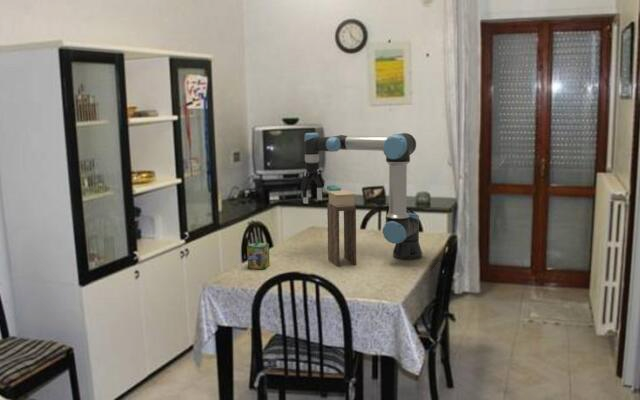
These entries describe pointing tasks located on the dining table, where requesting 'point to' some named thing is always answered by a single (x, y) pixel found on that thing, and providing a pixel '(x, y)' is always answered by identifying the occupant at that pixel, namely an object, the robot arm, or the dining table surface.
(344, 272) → the dining table surface
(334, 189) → the mailer lid
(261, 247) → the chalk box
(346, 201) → the kraft mailer box
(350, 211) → the walnut stand
